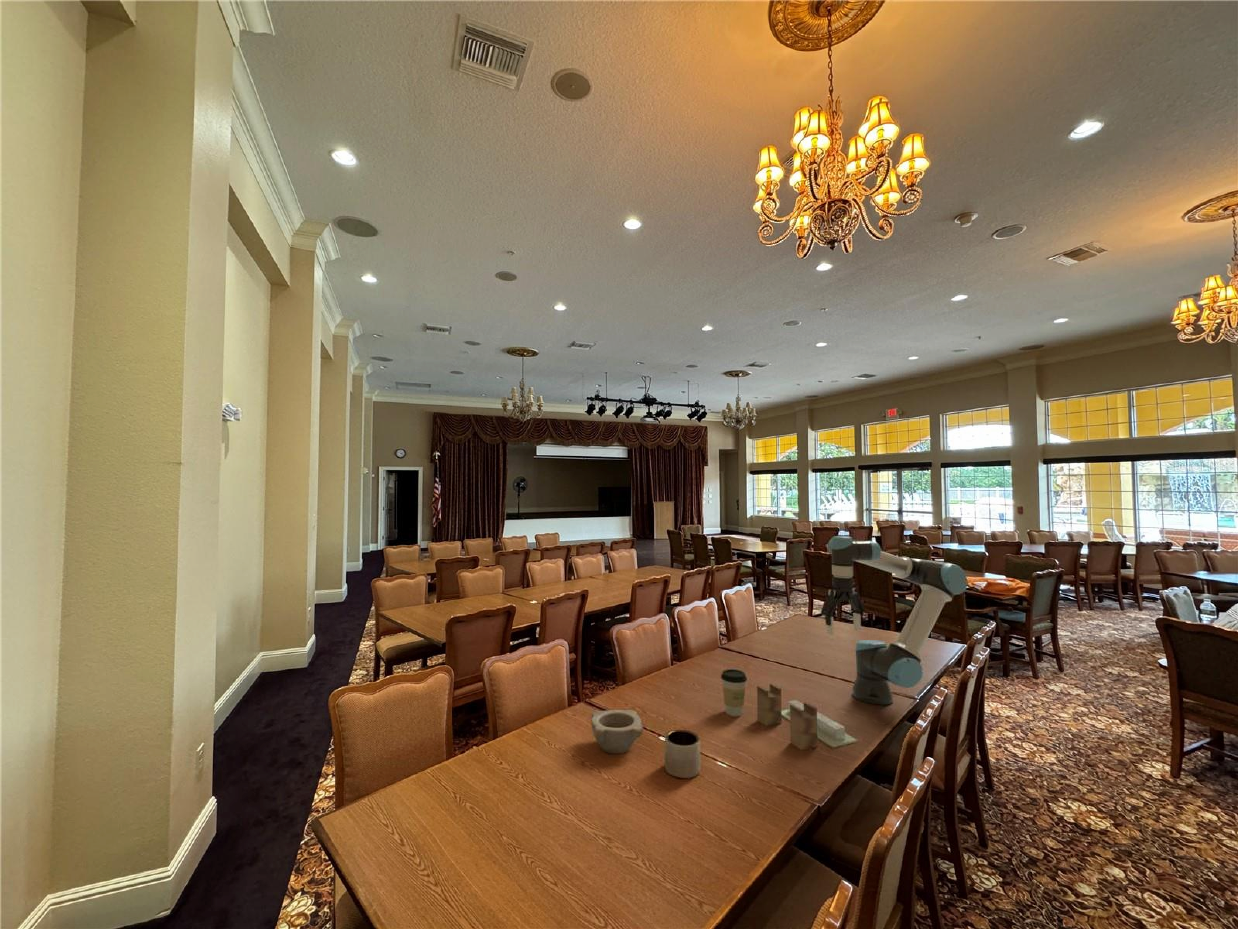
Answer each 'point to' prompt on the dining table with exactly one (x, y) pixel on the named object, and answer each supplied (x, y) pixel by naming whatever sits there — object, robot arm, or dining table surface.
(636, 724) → the mortar
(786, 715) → the mat
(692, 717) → the dining table surface
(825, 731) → the rail
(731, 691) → the coffee cup
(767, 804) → the dining table surface
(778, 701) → the post
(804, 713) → the post
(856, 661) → the robot arm
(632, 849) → the dining table surface
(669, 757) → the planter
